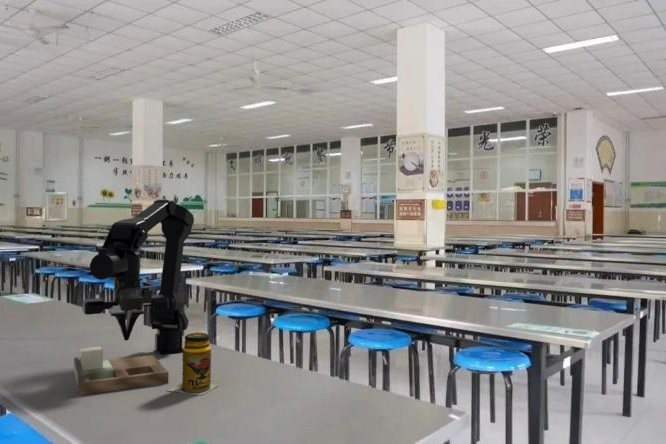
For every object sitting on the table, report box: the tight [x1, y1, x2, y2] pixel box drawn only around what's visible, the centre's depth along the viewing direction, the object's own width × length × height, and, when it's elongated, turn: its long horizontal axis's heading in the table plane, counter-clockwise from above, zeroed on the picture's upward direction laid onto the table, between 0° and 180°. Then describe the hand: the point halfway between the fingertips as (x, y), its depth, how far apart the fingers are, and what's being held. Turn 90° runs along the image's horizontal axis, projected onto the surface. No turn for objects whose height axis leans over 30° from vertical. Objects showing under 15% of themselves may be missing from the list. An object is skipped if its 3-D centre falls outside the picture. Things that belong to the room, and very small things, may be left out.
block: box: [78, 346, 104, 370], centre depth 126 cm, size 4×4×4 cm
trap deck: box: [73, 354, 169, 396], centre depth 125 cm, size 18×16×4 cm
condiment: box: [167, 332, 218, 396], centre depth 120 cm, size 7×8×12 cm
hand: (126, 340), depth 129 cm, fingers closed
